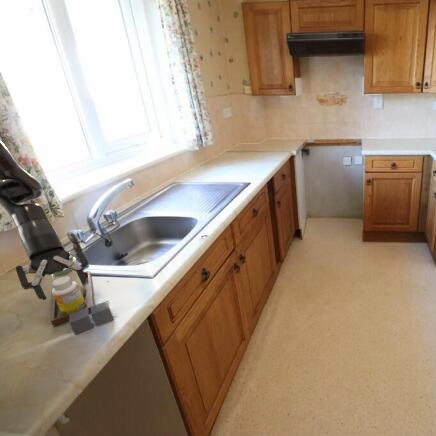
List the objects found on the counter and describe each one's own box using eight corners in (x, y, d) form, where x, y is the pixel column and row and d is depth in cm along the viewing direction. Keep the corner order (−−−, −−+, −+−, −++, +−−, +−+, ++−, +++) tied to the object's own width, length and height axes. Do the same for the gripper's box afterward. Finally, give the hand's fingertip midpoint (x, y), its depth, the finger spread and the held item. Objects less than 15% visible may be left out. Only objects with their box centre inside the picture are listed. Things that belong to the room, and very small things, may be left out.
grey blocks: (75, 335, 82) (69, 322, 80) (75, 326, 85) (69, 314, 83) (114, 320, 86) (109, 308, 85) (112, 312, 89) (108, 300, 87)
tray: (54, 328, 84) (50, 321, 83) (57, 288, 100) (53, 281, 99) (96, 313, 89) (93, 306, 88) (92, 277, 105) (89, 270, 104)
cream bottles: (62, 304, 92) (48, 275, 88) (63, 284, 101) (50, 257, 97) (86, 296, 95) (74, 267, 91) (85, 277, 104) (73, 250, 100)
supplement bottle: (62, 309, 90) (48, 279, 86) (86, 301, 93) (73, 271, 89) (62, 320, 86) (47, 289, 81) (87, 311, 89) (74, 281, 84)
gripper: (1, 244, 80) (27, 300, 78) (70, 224, 89) (95, 274, 87) (9, 255, 86) (33, 308, 83) (73, 236, 95) (96, 283, 92)
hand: (65, 291), depth 85 cm, fingers open, 8 cm apart
